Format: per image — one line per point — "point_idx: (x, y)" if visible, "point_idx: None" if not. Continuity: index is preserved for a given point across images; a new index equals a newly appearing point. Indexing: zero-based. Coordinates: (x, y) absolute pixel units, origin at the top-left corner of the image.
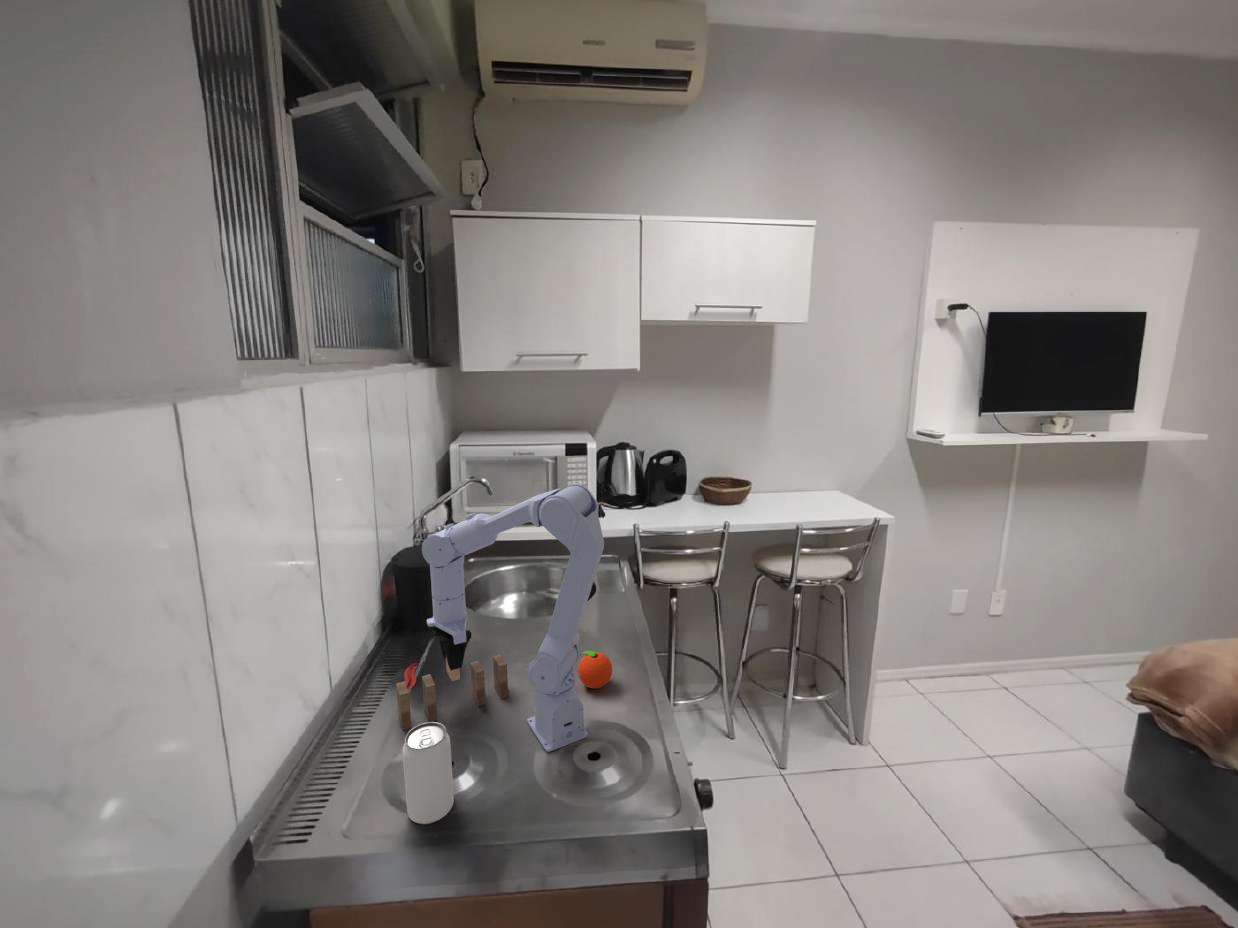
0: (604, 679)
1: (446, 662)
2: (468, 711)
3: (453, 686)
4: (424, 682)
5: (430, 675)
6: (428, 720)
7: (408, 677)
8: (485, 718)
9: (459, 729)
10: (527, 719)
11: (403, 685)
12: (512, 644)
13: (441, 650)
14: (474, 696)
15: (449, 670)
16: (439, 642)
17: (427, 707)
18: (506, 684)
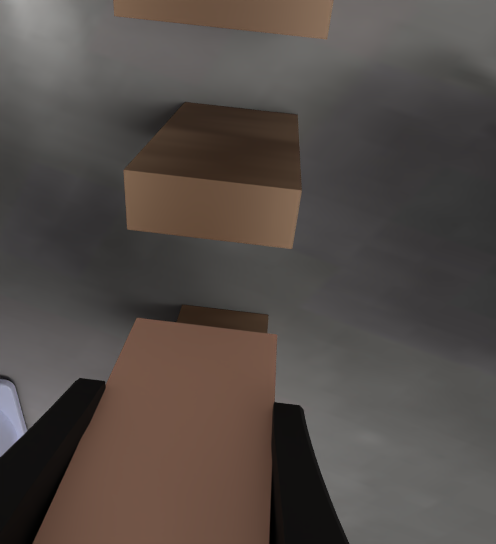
0: None
1: (259, 384)
2: (168, 266)
3: (386, 284)
4: (198, 178)
5: (269, 243)
6: (193, 103)
7: None
8: (91, 296)
9: (65, 197)
10: (6, 386)
11: (258, 4)
12: (478, 515)
13: (308, 450)
14: (227, 320)
15: (178, 359)
16: (322, 529)
17: (180, 122)
18: None
